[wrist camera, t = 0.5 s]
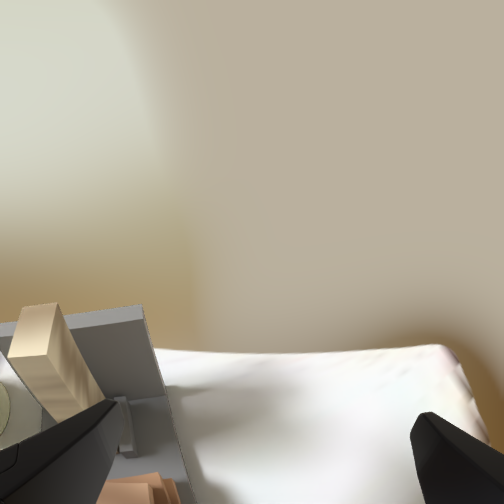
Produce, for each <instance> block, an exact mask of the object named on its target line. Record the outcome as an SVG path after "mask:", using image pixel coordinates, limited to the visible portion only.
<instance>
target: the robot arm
mask: <svg viewBox="0 0 504 504" xmlns="http://www.w3.org/2000/svg"><path fill="white" fill-rule="evenodd" d="M124 424H125V421H124V417H123V413H122V409H121V405H120V403H119V402H118V401H116V400H112V399H104V400H102V401H100V402H98V403H96V404H94V405H93V406H91V407H89V408H87V409H85V410H83V411H81V412H79V413H77V414H76V415H74V416H72V417H70V418H68V419H66V420H64V421H62V422H60V423H58V424H56V425H54V426H52V427H50V428H48V429H46V430H44V431H42V432H40V433H38V434H36V435H34V436H32V437H30V438H28V439H25V440H23V441H21V442H20V443H17V444H15V445H12V446H10V447H8V448H6V449H3V450H1V451H0V504H96V502H97V500H98V498H99V495H100V493H101V491H102V488H103V486H104V484H105V481H106V479H107V477H108V474H109V472H110V470H111V467H112V465H113V462H114V459H115V455H116V452H117V448H118V445H119V442H120V438H121V435H122V432H123V429H124ZM410 440H411V445H412V450H413V455H414V460H415V466H416V471H417V475H418V479H419V483H420V486H421V489H422V493H423V496H424V500H425V504H504V455H503V454H502V453H500V452H498V451H497V450H495V449H493V448H491V447H490V446H488V445H486V444H485V443H483V442H481V441H479V440H478V439H476V438H474V437H473V436H471V435H469V434H468V433H466V432H464V431H463V430H461V429H459V428H458V427H456V426H454V425H453V424H451V423H450V422H448V421H446V420H445V419H443V418H441V417H440V416H438V415H437V414H435V413H433V412H425V413H421V414H420V415H419V416H418V417H417V420H416V422H415V424H414V426H413V428H412V430H411V432H410Z"/></svg>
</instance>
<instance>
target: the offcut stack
mask: <svg viewBox="0 0 504 504" xmlns="http://www.w3.org/2000/svg"><path fill="white" fill-rule="evenodd" d="M96 504H181V501H180V498H179V495H178V492H177V488H176V485H175V482H174V480H173V479H172V478H168V479H162V476H161V475H160V474H159V473H158V472H155V473H149V474H144V475H138V476H132V477H126V478H119V479H111V480H106V481H105V484H104V486H103V488H102V491H101V493H100V495H99V498H98V500H97V502H96Z"/></svg>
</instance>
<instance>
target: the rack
mask: <svg viewBox="0 0 504 504" xmlns="http://www.w3.org/2000/svg"><path fill="white" fill-rule="evenodd" d="M63 317H64V319H65V321H66V324H67V326H68V328H69V330H70V332H71V334H72V337H73V339H74V341H75V343H76V345H77V347H78V349H79V351H80V353H81V355H82V357H83V359H84V361H85V363H86V365H87V366H88V368H89V370H90V372H91V374H92V376H93V377H94V379H95V381H96V383H97V384H98V386H99V388H100V390H101V391H102V393H103V395H104V396H105V398H106V399H112V400H116V401H118V402H119V403H120V405H121V409H122V413H123V417H124V421H125V424H124V429H123V432H122V435H121V438H120V442H119V445H118V448H119V454H116V455H115V459H114V462H113V465H112V467H111V470H110V472H109V474H108V477H107V479H106V480H111V479H119V478H126V477H132V476H138V475H144V474H149V473H155V472H158V473H159V474H160V475H161V476H162V479H168V478H172V479H173V480H174V482H175V485H176V488H177V492H178V495H179V498H180V501H181V504H197V502H196V499H195V496H194V493H193V490H192V487H191V484H190V481H189V477H188V474H187V471H186V467H185V464H184V461H183V457H182V454H181V450H180V446H179V443H178V439H177V435H176V431H175V427H174V423H173V419H172V415H171V410H170V406H169V401H168V397H167V392H166V388H165V384H164V381H163V378H162V375H161V372H160V369H159V366H158V362H157V359H156V356H155V352H154V349H153V345H152V342H151V338H150V334H149V331H148V327H147V323H146V319H145V315H144V311H143V307H142V304H138V305H132V306H126V307H119V308H113V309H106V310H99V311H93V312H85V313H79V314H71V315H64V316H63ZM17 322H18V321H16V322H7V323H0V351H1V352H2V354H3V355H4V357H5V358H6V360H7V361H8V363H9V364H10V366H11V367H12V369H13V370H14V372H15V373H16V374H17V376H18V377H19V378H20V380H21V381H22V383H23V384H24V385H25V387H26V388H27V389H28V390H29V392H30V393H31V394H32V395H33V397H34V398H35V399H36V400H37V402H38V403H39V404H40V405H41V406H42V408H43V409H42V426H41V432H42V431H44V430H46V429H48V428H50V427H52V426H54V425H56V424H58V423H57V421H56V420H55V419H54V418H53V417H52V416H51V415H50V413H49V412H48V411H47V410H46V409H45V408H44V406H43V405H42V404H41V403H40V402H39V400H38V399H37V398H36V397H35V395H34V394H33V393H32V392H31V390H30V389H29V388H28V386H27V385H26V384H25V382H24V381H23V380H22V378H21V377H20V375H19V374H18V373H17V371H16V370H15V368H14V367H13V366H12V364H11V363H10V361H9V360H8V358H7V357H8V353H9V349H10V346H11V342H12V339H13V335H14V332H15V329H16V326H17Z"/></svg>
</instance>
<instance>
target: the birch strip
mask: <svg viewBox="0 0 504 504" xmlns="http://www.w3.org/2000/svg"><path fill="white" fill-rule="evenodd" d="M7 358H8V360H9V361H10V363H11V364H12V366H13V367H14V368H15V370H16V371H17V373H18V374H19V375H20V377H21V378H22V380H23V381H24V382H25V384H26V385H27V386H28V388H29V389H30V390H31V392H32V393H33V394H34V395H35V397H36V398H37V399H38V400H39V402H40V403H41V404H42V405H43V406H44V408H45V409H46V410H47V411H48V412H49V413H50V415H51V416H52V417H53V418H54V419H55V420H56V421H57V423H60V422H62V421H64V420H66V419H68V418H70V417H72V416H74V415H76V414H77V413H79V412H81V411H83V410H85V409H87V408H89V407H91V406H93V405H94V404H96V403H98V402H100V401H102V400H104V399H106V398H105V396H104V395H103V393H102V391H101V390H100V388H99V386H98V384H97V383H96V381H95V379H94V377H93V376H92V374H91V372H90V370H89V368H88V366H87V365H86V363H85V361H84V359H83V357H82V355H81V353H80V351H79V349H78V347H77V345H76V343H75V341H74V339H73V337H72V334H71V332H70V330H69V328H68V326H67V324H66V321H65V319H64V317H63V314H62V312H61V310H60V307H59V305H58V303H57V302H56V303H49V304H41V305H34V306H27V307H23V308H22V310H21V313H20V316H19V320H18V322H17V326H16V329H15V332H14V335H13V339H12V342H11V346H10V349H9V353H8V357H7ZM116 454H119V448H117V452H116Z"/></svg>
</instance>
